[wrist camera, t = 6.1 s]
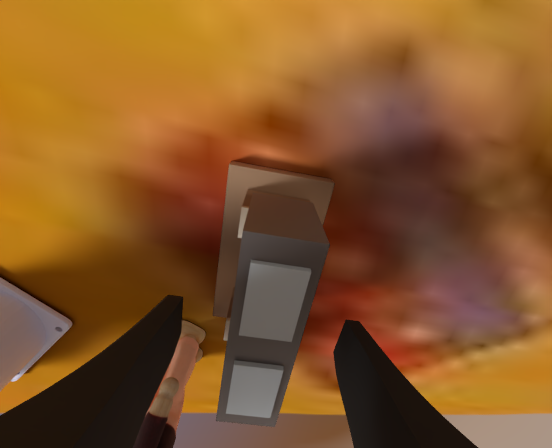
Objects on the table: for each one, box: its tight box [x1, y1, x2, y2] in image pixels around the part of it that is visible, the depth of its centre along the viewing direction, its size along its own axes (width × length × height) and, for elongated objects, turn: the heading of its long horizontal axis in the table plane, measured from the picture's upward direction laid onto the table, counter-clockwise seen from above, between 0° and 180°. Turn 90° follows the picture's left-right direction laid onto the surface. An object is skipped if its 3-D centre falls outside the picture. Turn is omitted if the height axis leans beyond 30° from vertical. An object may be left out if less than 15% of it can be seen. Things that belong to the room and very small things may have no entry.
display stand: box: [213, 161, 335, 341], centre depth 16 cm, size 11×6×4 cm, turn 170°
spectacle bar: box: [216, 193, 330, 427], centre depth 12 cm, size 10×3×4 cm, turn 170°
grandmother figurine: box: [133, 320, 206, 448], centre depth 15 cm, size 8×4×13 cm, turn 176°
